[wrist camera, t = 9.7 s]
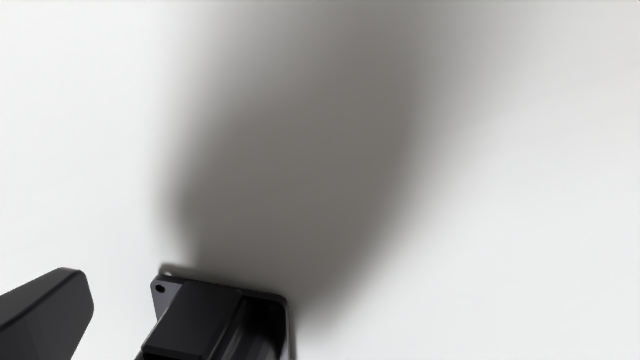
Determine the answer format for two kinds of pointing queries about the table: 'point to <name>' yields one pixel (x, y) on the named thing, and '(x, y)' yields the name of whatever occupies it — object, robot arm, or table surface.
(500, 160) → the table surface
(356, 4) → the table surface
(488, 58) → the table surface
